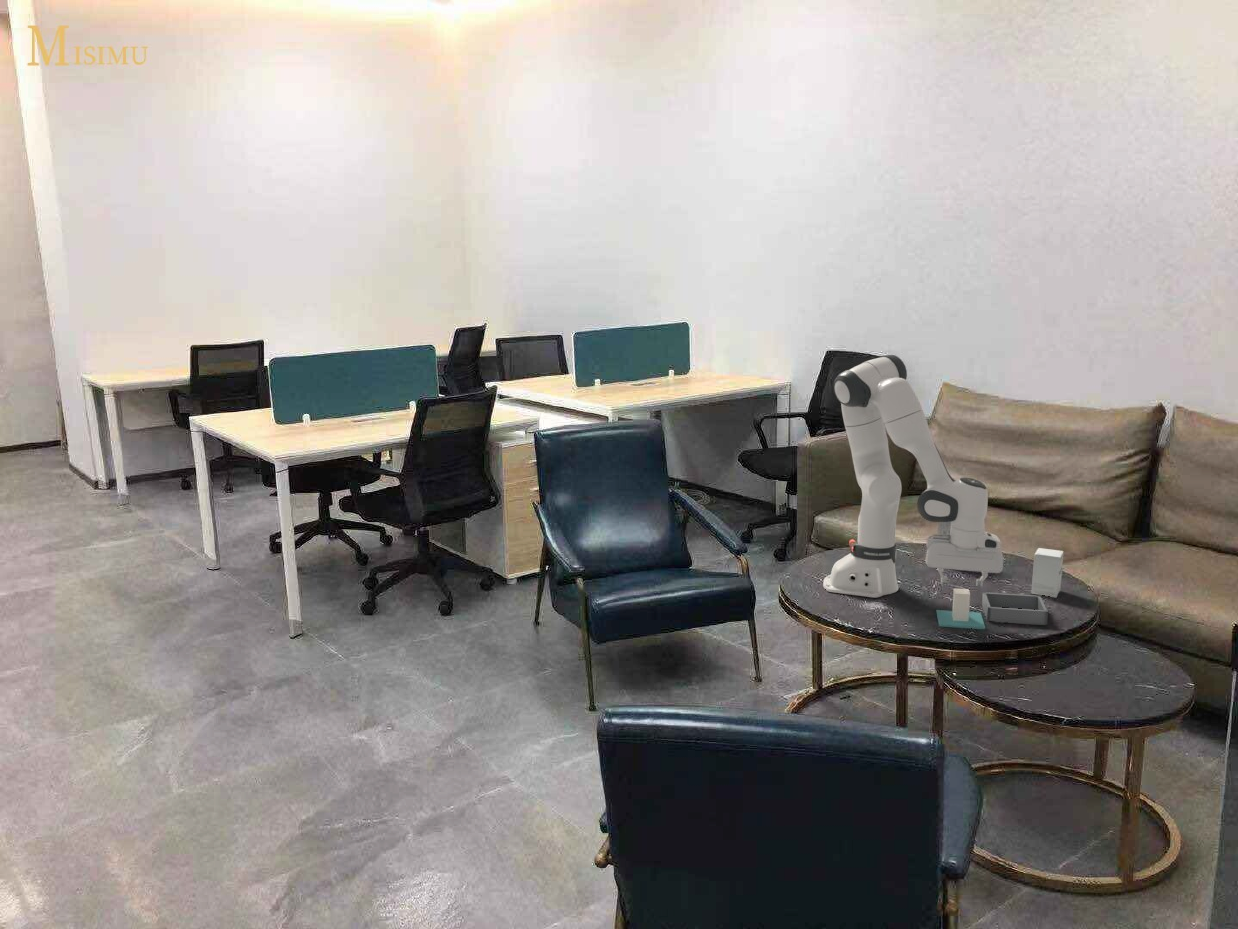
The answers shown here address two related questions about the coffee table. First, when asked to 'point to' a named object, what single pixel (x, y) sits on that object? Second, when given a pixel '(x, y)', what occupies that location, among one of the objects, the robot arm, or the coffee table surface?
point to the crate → (1012, 615)
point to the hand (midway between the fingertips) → (961, 584)
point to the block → (961, 604)
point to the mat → (947, 621)
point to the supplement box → (1047, 572)
